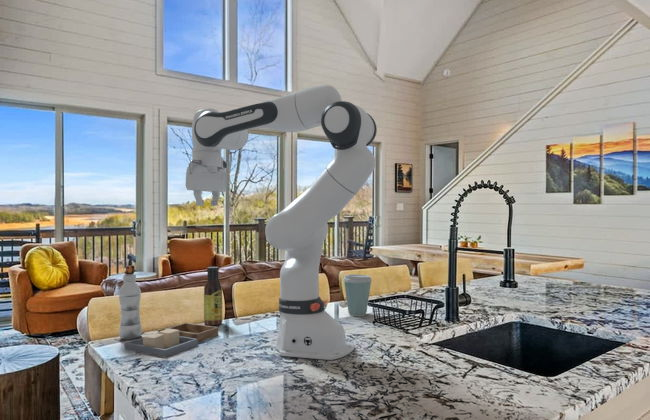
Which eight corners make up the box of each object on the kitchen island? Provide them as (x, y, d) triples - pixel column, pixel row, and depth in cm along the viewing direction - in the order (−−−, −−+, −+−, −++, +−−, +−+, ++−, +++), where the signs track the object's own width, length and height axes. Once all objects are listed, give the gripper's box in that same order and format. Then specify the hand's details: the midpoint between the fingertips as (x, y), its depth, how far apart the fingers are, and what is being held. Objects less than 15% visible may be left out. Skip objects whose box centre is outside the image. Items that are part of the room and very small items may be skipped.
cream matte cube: (179, 343, 135) (179, 330, 135) (168, 347, 131) (168, 333, 131) (169, 341, 136) (169, 328, 136) (159, 345, 133) (158, 331, 133)
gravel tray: (197, 347, 133) (197, 338, 133) (165, 359, 122) (164, 350, 122) (158, 340, 140) (158, 332, 140) (125, 351, 130) (124, 342, 130)
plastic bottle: (146, 337, 144) (145, 274, 144) (129, 343, 138) (128, 277, 138) (131, 335, 147) (130, 273, 147) (114, 341, 140) (113, 276, 140)
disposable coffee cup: (356, 310, 178) (355, 271, 178) (378, 314, 171) (377, 274, 171) (337, 315, 171) (337, 274, 171) (360, 319, 163) (359, 277, 163)
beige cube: (164, 348, 130) (164, 334, 130) (154, 352, 126) (154, 338, 126) (152, 347, 131) (152, 333, 131) (143, 351, 128) (142, 337, 128)
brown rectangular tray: (218, 336, 143) (218, 327, 143) (197, 344, 135) (197, 334, 135) (185, 331, 150) (185, 322, 150) (164, 338, 142) (163, 329, 142)
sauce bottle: (217, 326, 156) (216, 268, 156) (200, 326, 158) (199, 268, 158) (225, 322, 163) (224, 266, 163) (209, 321, 164) (208, 266, 164)
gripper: (199, 157, 133) (199, 205, 133) (230, 164, 153) (230, 205, 153) (179, 158, 134) (180, 205, 134) (212, 165, 154) (213, 206, 154)
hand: (207, 205), depth 144 cm, fingers open, 8 cm apart
